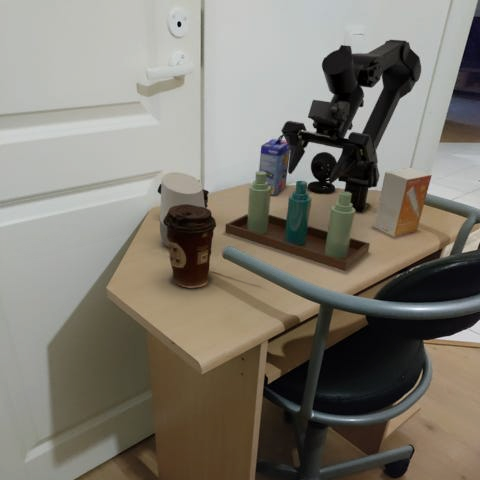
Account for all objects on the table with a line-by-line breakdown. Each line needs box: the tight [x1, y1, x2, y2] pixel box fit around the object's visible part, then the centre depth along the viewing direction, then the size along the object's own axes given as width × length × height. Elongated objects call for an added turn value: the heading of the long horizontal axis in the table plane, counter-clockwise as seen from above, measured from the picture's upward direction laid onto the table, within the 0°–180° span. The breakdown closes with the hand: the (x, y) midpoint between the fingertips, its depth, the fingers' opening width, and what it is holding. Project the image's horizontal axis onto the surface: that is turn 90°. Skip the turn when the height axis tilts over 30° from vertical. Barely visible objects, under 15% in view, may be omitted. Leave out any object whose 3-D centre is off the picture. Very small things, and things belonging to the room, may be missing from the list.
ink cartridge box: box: [258, 134, 290, 196], centre depth 128 cm, size 10×6×14 cm, turn 158°
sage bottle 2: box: [324, 191, 356, 259], centre depth 94 cm, size 5×5×12 cm
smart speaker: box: [159, 171, 205, 248], centre depth 95 cm, size 10×9×14 cm
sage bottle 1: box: [247, 170, 272, 234], centre depth 103 cm, size 5×5×12 cm
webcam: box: [307, 151, 338, 194], centre depth 130 cm, size 8×8×10 cm
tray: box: [225, 213, 371, 272], centre depth 101 cm, size 11×28×2 cm, turn 54°
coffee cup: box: [163, 204, 217, 289], centre depth 83 cm, size 9×8×13 cm
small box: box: [373, 167, 433, 237], centre depth 107 cm, size 8×6×13 cm
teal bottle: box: [284, 180, 313, 246], centre depth 98 cm, size 5×5×12 cm
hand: (309, 177), depth 97 cm, fingers open, 9 cm apart
